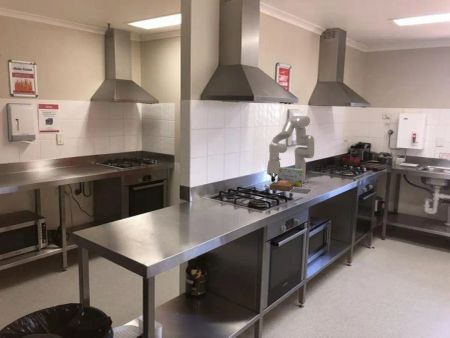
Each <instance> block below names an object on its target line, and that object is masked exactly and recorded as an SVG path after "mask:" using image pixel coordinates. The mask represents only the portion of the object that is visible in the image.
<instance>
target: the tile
mask: <svg viewBox="0 0 450 338" xmlns="http://www.w3.org/2000/svg"><path fill="white" fill-rule="evenodd" d="M287 184H288V181H284V180H280V181H279V182H278V185H287Z"/></svg>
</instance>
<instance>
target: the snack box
mask: <svg viewBox="0 0 450 338" xmlns="http://www.w3.org/2000/svg"><path fill="white" fill-rule="evenodd" d="M276 177H277V178H276V180H277V181H276V182H279V181H280V180H284V181H288V183H291V184H293V188H301V189H302V187H303V185H304V183H303V169H295V167H292V168H291V167H283V166H282V167H281V166H280V175H277V176H276Z"/></svg>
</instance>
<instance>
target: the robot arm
mask: <svg viewBox="0 0 450 338" xmlns="http://www.w3.org/2000/svg"><path fill="white" fill-rule="evenodd" d="M310 123H311V118H310V117H309V116H308V115H293V116H291V117H288V118H287V119H286V120H285V123H284V125H283V128H282V130H281V131H280V132H279V133H278V134H276V135H275V136H274V137H273V138H272V140H271V143H270V144H269V160H268V162H267V168H266V175H269V176H270V177H271V178H270V180H271V183H273V182H276V177H277V176H278V175H280V167H281V162H280V161H281V160H282V159H281V158H280V154H283V153H286V152H287V150H288V146H287V144H285V143H279V142H281V141H283V140H287V139H289V138H290V137H291V136H292V134H293V132H294V129H295V143H296V145H297V147H296V148H294V168H295V169H303V184H305V183H308V181H307V180H306V170H307V169H306V168H307V167H306V166H307V161H306V159H313V157H314V156H315V138H314V136H313V135H309V134H307V130H306V127H308V126H310Z"/></svg>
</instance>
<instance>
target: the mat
mask: <svg viewBox="0 0 450 338" xmlns="http://www.w3.org/2000/svg"><path fill="white" fill-rule="evenodd" d="M310 191H311V189H309V188H302V187H301V188H300V187H293V189H292V190H291V191H290V193H299V194H309V193H310Z"/></svg>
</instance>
